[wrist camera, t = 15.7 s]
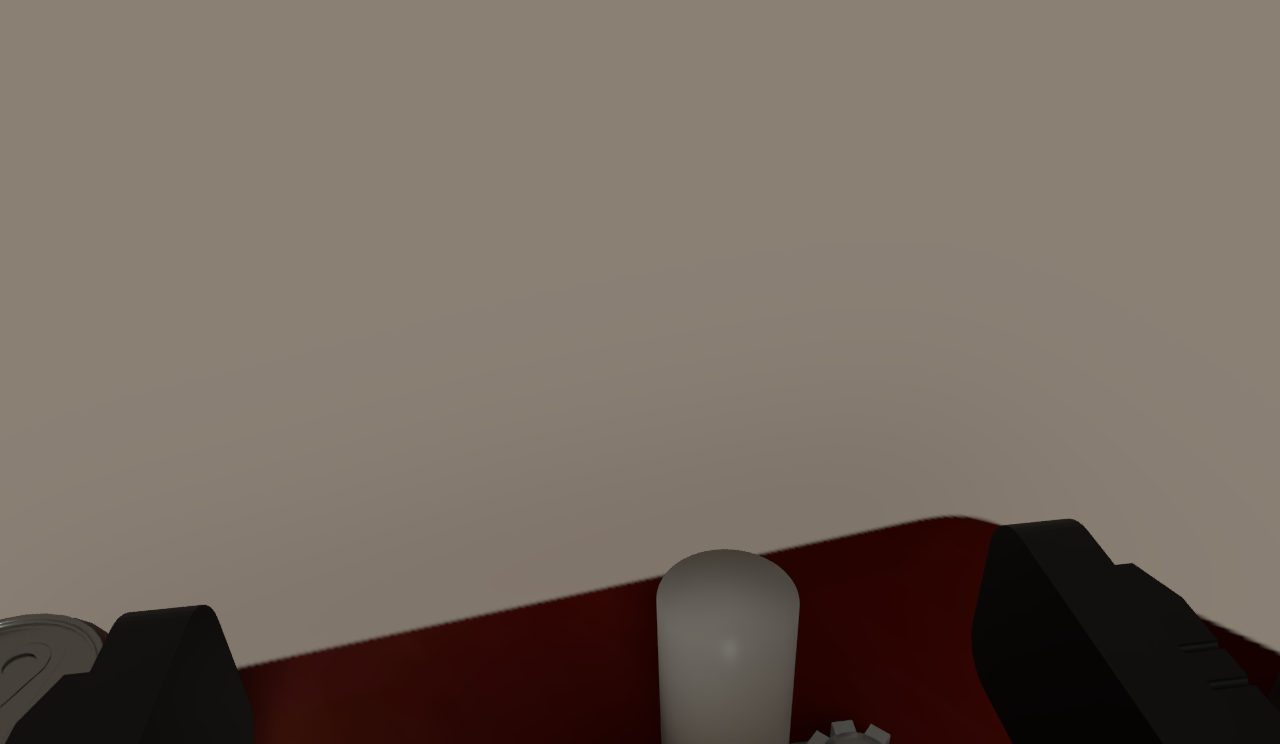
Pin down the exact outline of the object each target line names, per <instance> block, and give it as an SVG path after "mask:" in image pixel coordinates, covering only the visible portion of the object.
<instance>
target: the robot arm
mask: <svg viewBox="0 0 1280 744" xmlns="http://www.w3.org/2000/svg"><path fill="white" fill-rule="evenodd" d="M971 643H972V652H973V658H974V663H975V667H976V670H977V673H978V677H979V679H980V682H981V684H982V686H983V688H984V690H985V692H986V694H987V696H988V698H989V700H990V702H991V704H992V706H993V707H994V709H995V711H996V713H997V715H998V717H999V719H1000V721H1001V723H1002V724H1003V726H1004V728H1005V730H1006V732H1007V734H1008V736H1009V738H1010V740H1011V741H1012V743H1013V744H1280V672H1279V674H1278V676H1277V678H1276V680H1275V682H1274V684H1273V686H1272V688H1271V690H1270V693H1269V695H1268V697H1267V698H1266V696H1265V695H1264V694H1263V693H1262V692H1261V690H1260V689H1259V688H1258V687H1257V686H1256V685H1253V686H1251V685H1250V683H1249V681H1248V675H1247V674H1246V673H1245V671H1244V670H1243V669H1242V668H1241V667H1240V666H1239V664H1238V663H1237V662H1236V661H1235V660H1234V658H1233V657H1232V656H1231V655H1230V654H1229V652H1228V651H1227V650H1226V649H1220V648H1219V646H1218V639H1217V638H1216V637H1215V636H1214V635H1213V633H1212V632H1211V631H1210V630H1209V629H1208V628H1207V626H1206V625H1205V624H1204V623H1203V622H1202V620H1201V619H1200V618H1199V617H1198V616H1197V614H1196V613H1195V612H1194V611H1193V610H1192V609H1191V607H1190V606H1189V605H1188V604H1187V603H1186V602H1185V600H1184V599H1183V598H1182V597H1181V596H1179V595H1178V594H1176V593H1175V592H1173V591H1172V590H1171V589H1169V588H1168V587H1166V586H1165V585H1163V584H1162V583H1160V582H1159V581H1157V580H1156V579H1155V578H1153V577H1152V576H1150V575H1149V574H1147V573H1146V572H1144V571H1143V570H1142V569H1140V568H1139V567H1137V566H1136V565H1134V564H1133V563H1129V564H1120V565H1114V563H1113V562H1112V561H1111V559H1110V558H1109V557H1108V556H1107V554H1106V553H1105V552H1104V551H1103V549H1102V548H1101V547H1100V546H1099V544H1098V543H1097V542H1096V541H1095V539H1094V538H1093V537H1092V535H1091V534H1090V533H1089V532H1088V530H1087V529H1086V528H1085V527H1084V526H1083V525H1082V524H1080V523H1079V522H1078V521H1076V520H1074V519H1060V520H1051V521H1041V522H1031V523H1021V524H1011V525H1003V526H999V527H998V528H997V529H996V530H995V531H994V533H993V535H992V537H991V541H990V545H989V550H988V554H987V559H986V564H985V568H984V573H983V578H982V582H981V587H980V591H979V596H978V601H977V605H976V610H975V615H974V619H973V624H972V632H971ZM5 744H254V721H253V713H252V709H251V705H250V702H249V699H248V697H247V694H246V691H245V689H244V686H243V683H242V681H241V678H240V675H239V673H238V670H237V668H236V665H235V662H234V660H233V657H232V654H231V652H230V649H229V646H228V644H227V641H226V639H225V636H224V634H223V631H222V628H221V625H220V623H219V620H218V618H217V616H216V614H215V612H214V611H213V609H212V608H211V607H209V606H207V605H197V606H187V607H178V608H168V609H158V610H148V611H138V612H129V613H125V614H123V615H122V616H120V617H119V618H118V619H117V620H116V622H115V623H114V625H113V626H112V628H111V630H110V632H109V634H108V636H107V638H106V640H105V642H104V644H103V646H102V648H101V650H100V652H99V654H98V656H97V658H96V660H95V662H94V664H93V666H92V668H91V670H90V672H85V673H75V674H66V675H63V676H62V677H61V678H60V679H59V680H58V681H57V682H56V683H55V684H54V685H53V686H52V687H51V688H50V689H49V690H48V691H47V692H46V693H45V694H44V695H43V696H42V697H41V698H40V699H39V700H38V701H37V702H36V703H35V704H34V705H33V706H32V707H31V708H30V709H29V710H28V711H27V712H26V713H25V715H24V716H23V717H22V718H21V719H20V720H19V721H18V722H17V723H16V724H15V726H14V727H13V729H12V731H11V733H10V735H9V737H8V738H7V740H6V742H5Z"/></svg>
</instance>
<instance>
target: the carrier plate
mask: <svg viewBox="0 0 1280 744" xmlns="http://www.w3.org/2000/svg"><path fill="white" fill-rule="evenodd" d="M889 741H890V734H888V733H886V732H885V731H883V730H881V729H879V728H877V727H876V726H874V725H872V724H871V725H870V726H869V728H868V729H867V731H866V732H865V734H863V733H858V732H856V729H855V727H854V724H853V721H852V720H847V721H839V722H832V724H831V733H830V738H829V737H827V736H826V735H824V734H822V733H820V732H819V731H816V732H815V733H814V735H813V736H812V738H811V739H810V740H809V741H807V742H798V743H790V744H889Z"/></svg>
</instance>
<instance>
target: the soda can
mask: <svg viewBox="0 0 1280 744" xmlns="http://www.w3.org/2000/svg"><path fill="white" fill-rule="evenodd" d="M107 636H108V633H107V632H105V631H104V630H102V629H101V628H99V627H98V626H96V625H94V624H93V623H90V622H86V621H83V620H80V619H77V618H71V617H68V616H64V615H53V614H32V615H22V616H16V617H11V618H6V619H1V620H0V744H5V742H6V740H7V738H8V737H9V735H10V733H11V731H12V729H13V727H14V726H15V724H16V723H17V722H18V721H19V720H20V719H21V718H22V717H23V716H24V715H25V713H26V712H27V711H28V710H29V709H30V708H31V707H32V706H33V705H34V704H35V703H36V702H37V701H38V700H39V699H40V698H41V697H42V696H43V695H44V694H45V693H46V692H47V691H48V690H49V689H50V688H51V687H52V686H53V685H54V684H55V683H56V682H57V681H58V680H59V679H60V678H61V677H62V676H63V675H66V674H75V673H85V672H90V670H91V668H92V666H93V664H94V662H95V660H96V658H97V656H98V654H99V652H100V650H101V648H102V646H103V644H104V642H105V640H106V638H107Z"/></svg>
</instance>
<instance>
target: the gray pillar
mask: <svg viewBox="0 0 1280 744" xmlns="http://www.w3.org/2000/svg"><path fill="white" fill-rule="evenodd" d="M656 601H657V630H658V659H659V688H660V718H661V744H789V736H790V723H791V710H792V697H793V684H794V671H795V658H796V645H797V632H798V619H799V606H800V602H799V595H798V591H797V589H796V587H795V584H794V583H793V581H792V580H791V578H790V577H789V576H788V575H787V574H786V572H784V571H783V570H782V569H781V568H780V567H779V566H777V565H776V564H774V563H773V562H771V561H769V560H767V559H766V558H763V557H761V556H759V555H756V554H752V553H749V552H745V551H739V550H727V549H726V550H725V549H724V550H723V549H722V550H711V551H705V552H701V553H697V554H695V555H692V556H689V557H687V558H685V559H683V560H681V561H680V562H678V563H677V564H675V565H674V566H673V567H672V568H671V569H670V570H669V571H668V572H667V573H666V574H665V576H664V577H663V578H662V580H661V582H660V584H659V587H658V591H657V598H656Z"/></svg>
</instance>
